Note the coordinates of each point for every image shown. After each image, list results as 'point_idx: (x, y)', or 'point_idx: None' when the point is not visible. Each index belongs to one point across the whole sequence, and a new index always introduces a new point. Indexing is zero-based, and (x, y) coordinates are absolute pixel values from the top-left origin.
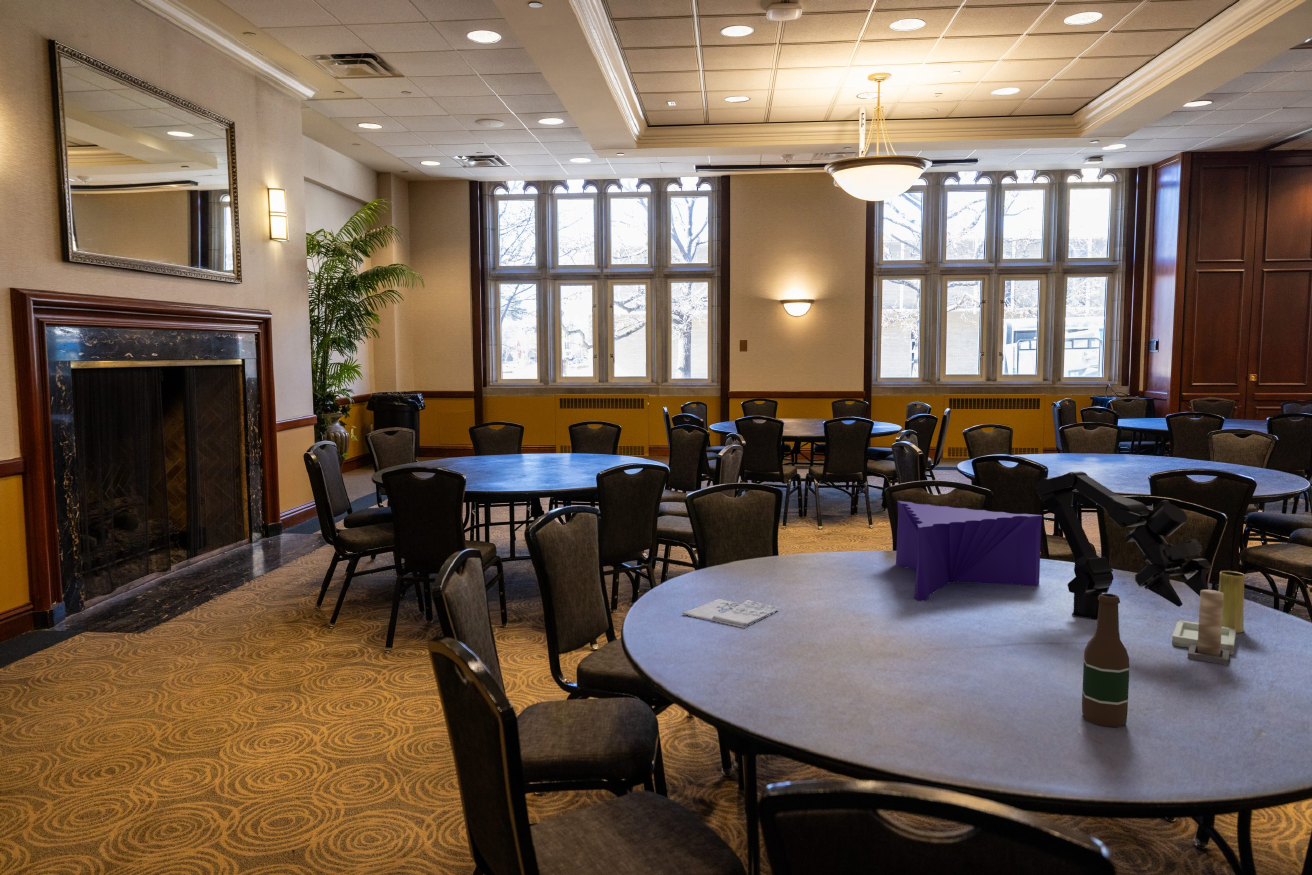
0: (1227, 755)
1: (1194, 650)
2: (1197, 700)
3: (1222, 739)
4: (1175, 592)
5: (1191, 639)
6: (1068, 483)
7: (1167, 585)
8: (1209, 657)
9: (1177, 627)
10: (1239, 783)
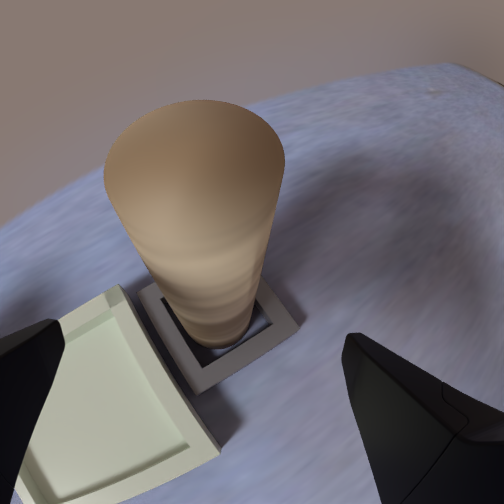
0: (484, 98)
1: (253, 338)
2: (456, 161)
3: (477, 108)
4: (402, 379)
5: (183, 399)
6: None
7: (489, 409)
8: (262, 278)
9: (105, 501)
10: (492, 85)
